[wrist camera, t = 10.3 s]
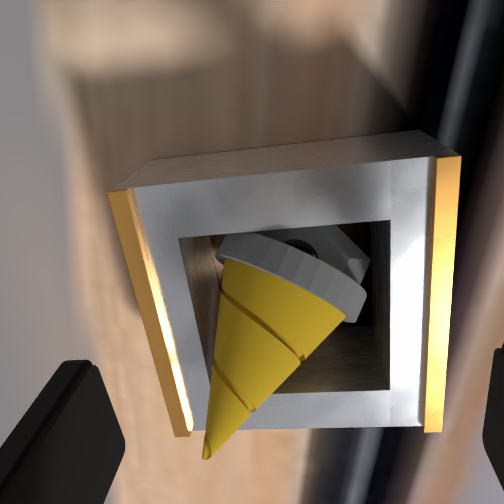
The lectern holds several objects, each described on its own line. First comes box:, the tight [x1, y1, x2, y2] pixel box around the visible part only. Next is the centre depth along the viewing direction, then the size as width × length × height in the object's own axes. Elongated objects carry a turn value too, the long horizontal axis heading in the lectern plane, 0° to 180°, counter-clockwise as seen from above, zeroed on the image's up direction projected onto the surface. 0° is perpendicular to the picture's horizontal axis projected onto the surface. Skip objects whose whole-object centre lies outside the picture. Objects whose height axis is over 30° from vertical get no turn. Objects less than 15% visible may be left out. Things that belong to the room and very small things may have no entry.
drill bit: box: [202, 224, 371, 460], centre depth 15 cm, size 5×5×10 cm
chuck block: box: [107, 130, 461, 437], centre depth 16 cm, size 10×10×4 cm
